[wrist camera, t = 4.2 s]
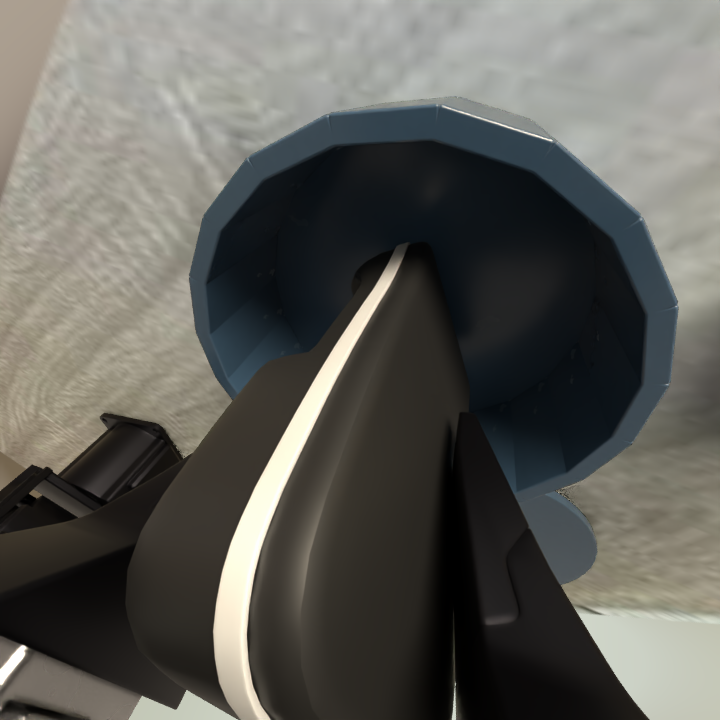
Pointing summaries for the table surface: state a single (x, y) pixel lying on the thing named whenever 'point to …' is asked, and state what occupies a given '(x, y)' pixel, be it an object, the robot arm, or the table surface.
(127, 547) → the robot arm
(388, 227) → the tin
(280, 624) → the battery charger
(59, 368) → the table surface
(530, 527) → the tin lid
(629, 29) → the table surface
